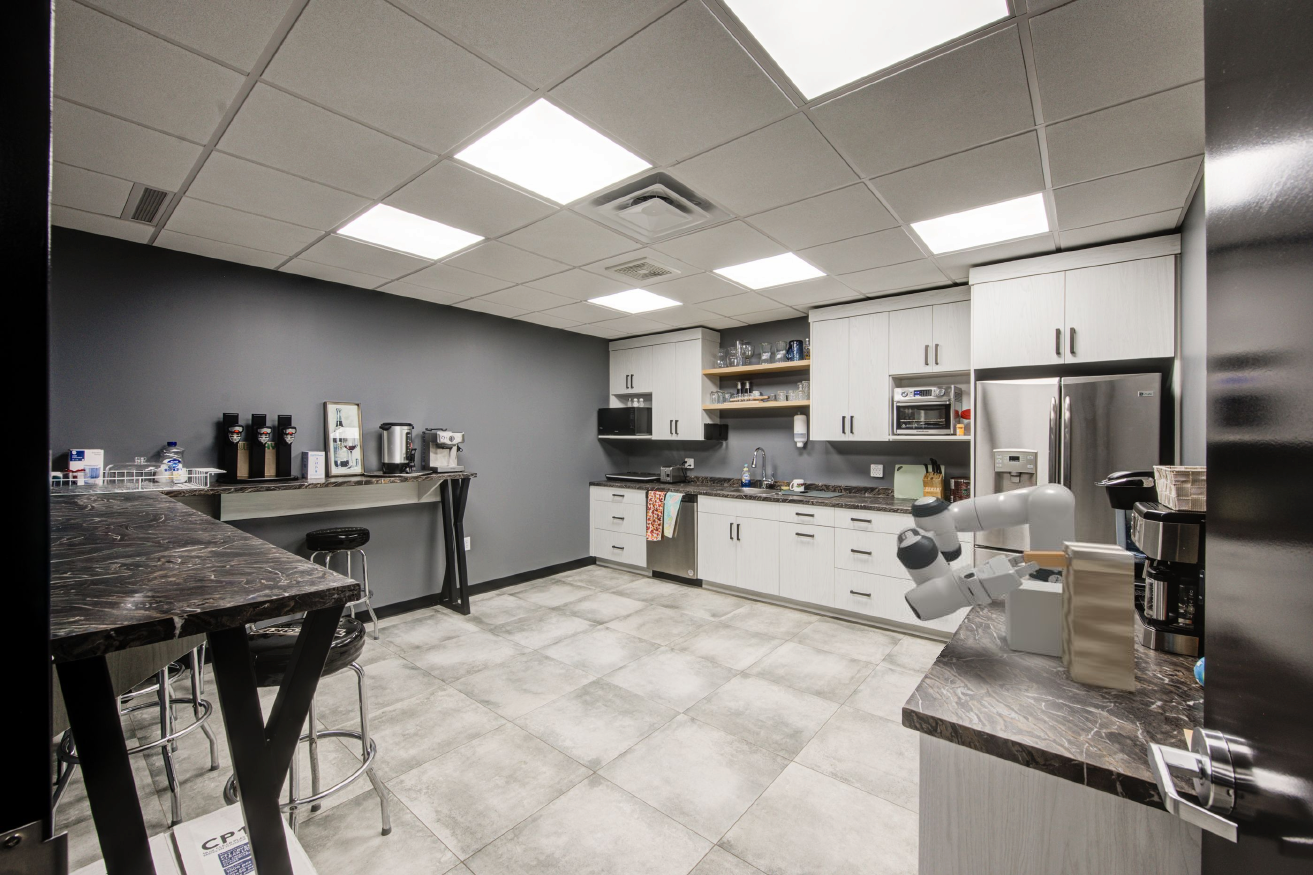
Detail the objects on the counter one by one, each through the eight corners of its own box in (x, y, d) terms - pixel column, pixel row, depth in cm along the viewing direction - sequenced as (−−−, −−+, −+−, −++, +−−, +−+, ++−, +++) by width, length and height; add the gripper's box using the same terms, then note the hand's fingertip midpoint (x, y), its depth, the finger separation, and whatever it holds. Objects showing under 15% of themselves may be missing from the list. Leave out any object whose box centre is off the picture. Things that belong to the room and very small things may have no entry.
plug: (1024, 564, 126) (1023, 551, 126) (1094, 565, 120) (1092, 552, 120) (1026, 566, 123) (1025, 553, 124) (1097, 568, 118) (1096, 554, 118)
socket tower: (1062, 661, 126) (1062, 541, 127) (1116, 669, 122) (1116, 544, 122) (1074, 682, 116) (1074, 550, 116) (1134, 692, 111) (1134, 554, 111)
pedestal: (1005, 636, 143) (1005, 578, 143) (1070, 645, 136) (1070, 584, 136) (1010, 649, 134) (1010, 587, 134) (1080, 659, 127) (1080, 594, 127)
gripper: (977, 585, 138) (1034, 563, 132) (985, 607, 120) (1051, 582, 114) (963, 562, 139) (1018, 539, 134) (969, 581, 121) (1033, 555, 116)
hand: (1033, 559), depth 124 cm, fingers open, 8 cm apart
